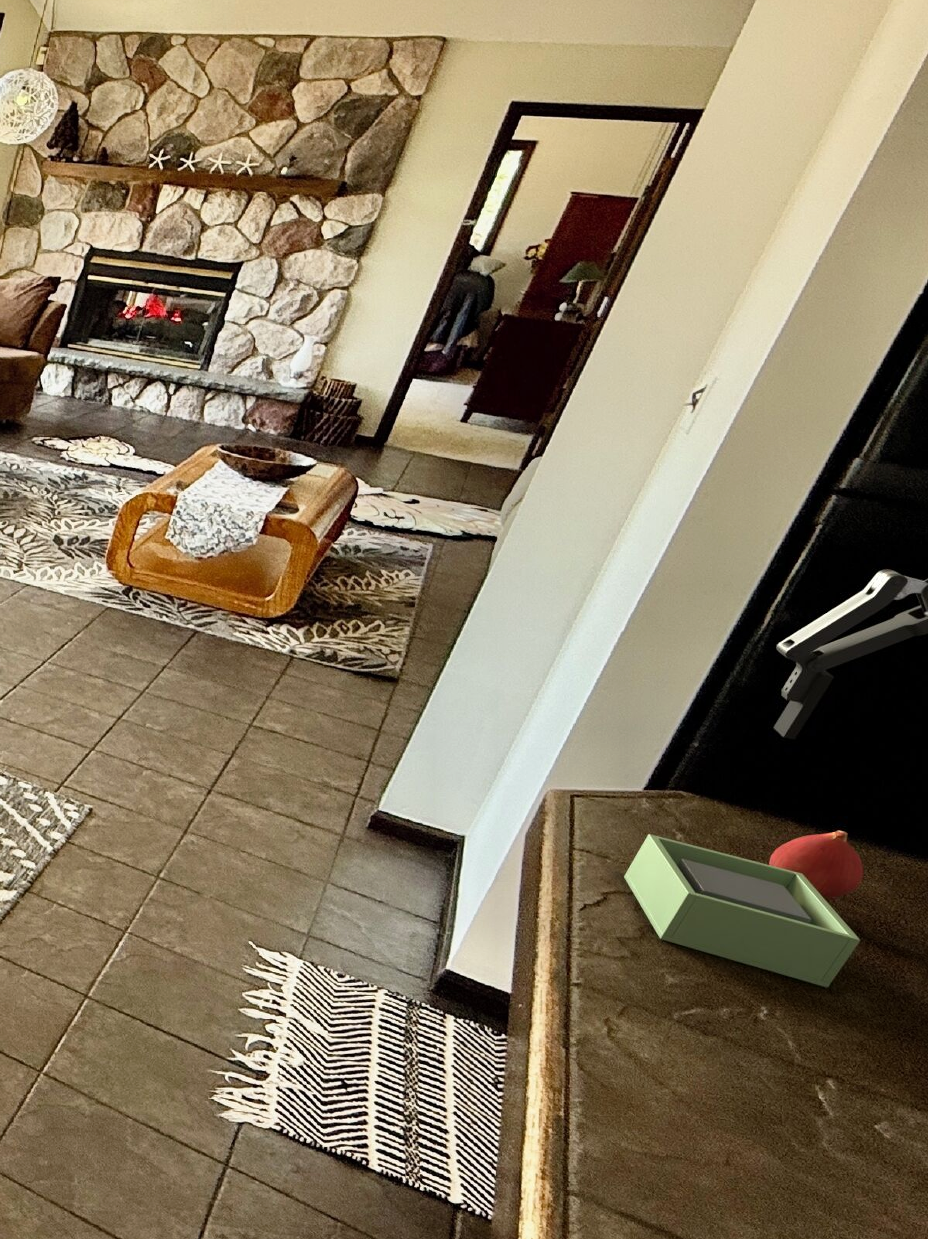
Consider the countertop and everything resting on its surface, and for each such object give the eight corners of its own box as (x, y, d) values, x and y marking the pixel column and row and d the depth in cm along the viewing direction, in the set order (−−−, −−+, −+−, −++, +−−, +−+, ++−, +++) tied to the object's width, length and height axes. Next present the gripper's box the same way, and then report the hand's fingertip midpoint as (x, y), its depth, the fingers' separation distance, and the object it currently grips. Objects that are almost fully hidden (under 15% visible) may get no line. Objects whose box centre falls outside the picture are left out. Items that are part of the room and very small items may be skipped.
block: (760, 920, 108) (783, 884, 106) (787, 957, 102) (812, 919, 101) (660, 893, 111) (681, 858, 109) (681, 926, 106) (703, 890, 104)
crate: (773, 917, 109) (802, 873, 107) (827, 987, 99) (861, 940, 97) (623, 876, 115) (648, 833, 113) (660, 939, 104) (688, 892, 102)
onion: (735, 881, 116) (779, 812, 112) (792, 885, 116) (837, 817, 112) (796, 915, 110) (843, 843, 107) (855, 920, 110) (905, 848, 107)
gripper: (1233, 562, 95) (1064, 786, 104) (812, 497, 107) (692, 703, 116) (1298, 583, 89) (1113, 818, 98) (844, 512, 101) (715, 728, 110)
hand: (884, 756), depth 107 cm, fingers open, 13 cm apart
